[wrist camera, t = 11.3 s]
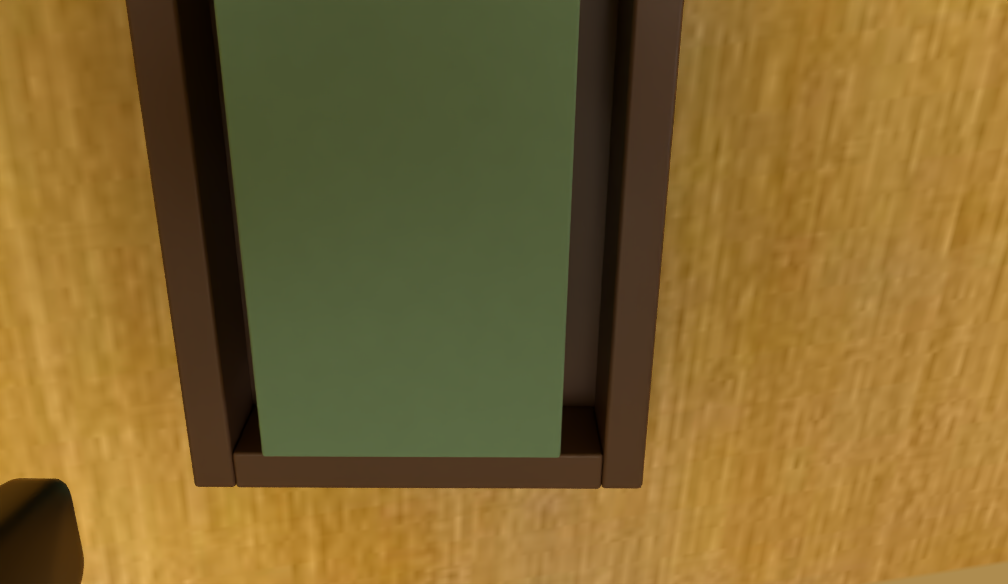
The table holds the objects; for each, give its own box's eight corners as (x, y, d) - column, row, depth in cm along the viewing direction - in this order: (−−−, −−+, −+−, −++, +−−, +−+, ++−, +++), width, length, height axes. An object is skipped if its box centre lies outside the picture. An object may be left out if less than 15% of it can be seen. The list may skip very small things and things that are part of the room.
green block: (549, 360, 19) (560, 459, 16) (300, 359, 19) (261, 457, 16) (566, -127, 15) (585, -127, 12) (259, -131, 15) (198, -133, 12)
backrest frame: (678, -245, 15) (707, -263, 13) (627, 426, 20) (642, 490, 18) (141, -254, 15) (84, -273, 13) (224, 424, 20) (193, 488, 18)
